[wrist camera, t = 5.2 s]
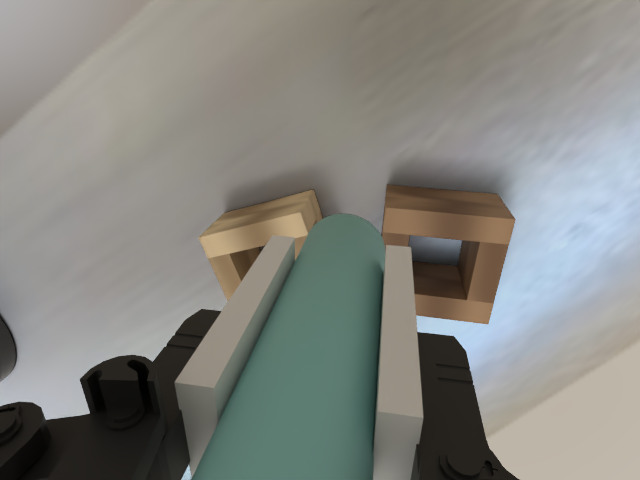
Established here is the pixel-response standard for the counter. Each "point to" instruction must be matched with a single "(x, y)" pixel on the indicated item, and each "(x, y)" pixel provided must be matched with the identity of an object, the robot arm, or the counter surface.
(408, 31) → the counter surface
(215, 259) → the light wooden square frame
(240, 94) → the counter surface
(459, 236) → the brown wooden square frame
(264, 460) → the teal cylindrical rod
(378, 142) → the counter surface
